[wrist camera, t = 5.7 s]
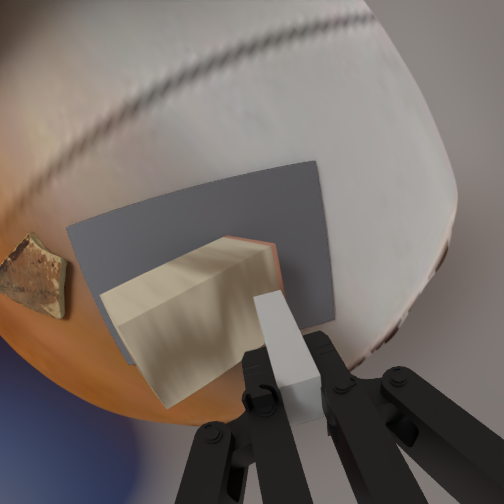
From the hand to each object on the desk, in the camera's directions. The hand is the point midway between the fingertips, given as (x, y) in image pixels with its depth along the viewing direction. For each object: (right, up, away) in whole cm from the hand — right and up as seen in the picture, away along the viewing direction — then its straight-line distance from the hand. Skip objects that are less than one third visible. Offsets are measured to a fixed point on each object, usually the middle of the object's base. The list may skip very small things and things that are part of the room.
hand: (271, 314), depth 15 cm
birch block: (-1, +2, +5) cm, 5 cm away
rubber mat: (-5, +1, +7) cm, 9 cm away
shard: (-22, 0, +6) cm, 23 cm away
